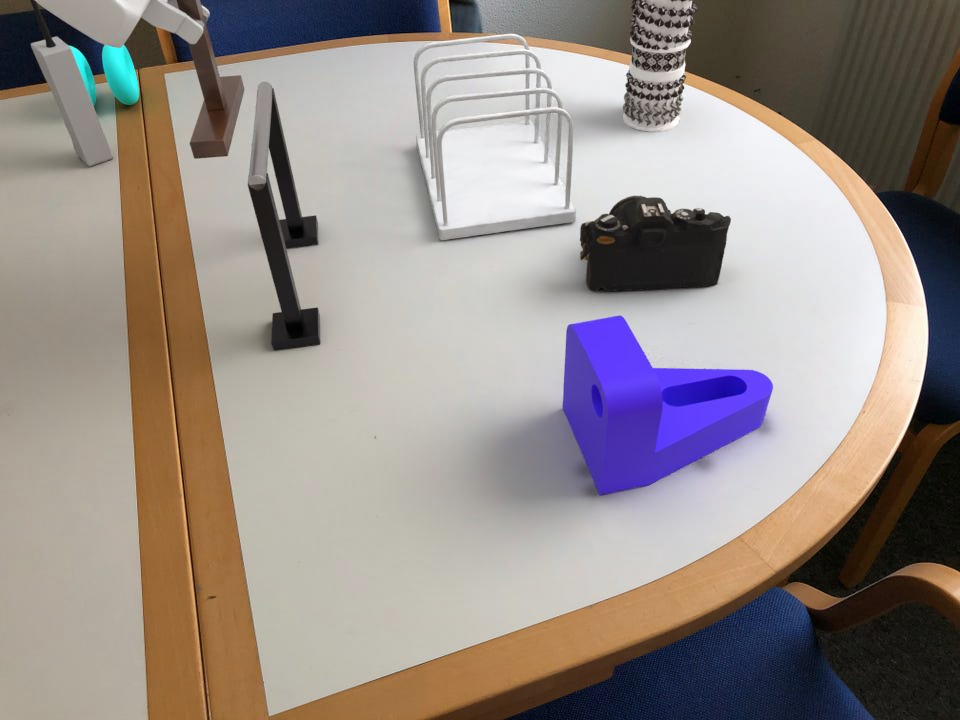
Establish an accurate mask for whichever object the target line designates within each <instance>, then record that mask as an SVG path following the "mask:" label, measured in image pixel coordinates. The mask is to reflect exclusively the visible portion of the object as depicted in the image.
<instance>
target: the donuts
mask: <svg viewBox="0 0 960 720" xmlns="http://www.w3.org/2000/svg"><path fill="white" fill-rule="evenodd" d="M68 46H69V47H70V48H71V50H72V52H73V55H74V57H75V60H76V62H77V65H78V68H79V70H80V73H81V75H82V78H83V80H84V83H85V86H86V88H87V91H88V93H89V96H90V98H91V101H92V104H93V106H94V107H95V105H96V103H97V97H98V96H97V93H98V92H97V87H96V82H95V78H94V74H93V72H92V69H91V66H90V64H89V62H88V60H87V58H86V56H85V55H84V54H83V53H82V51H80V50H79V49H78V48H76V47H75V46H72V45H68ZM101 59H102V67H103V72H104V75H105V79H106V82H107V84H108V86H109V89H110V91H111V93H112V94H113V96H114V98H116V99H117V101H118V102H120V103H122V104H124V105H127V106H133V105H135V104H136V103H137V102H138V101H139V99H140V87H139V81H138V77H137V72H136V69H135V65H134V63H133V59H132V57H131V55H130V52H129V50H128V48H127V47H126V45H125V44H124V45H123V46H122V47H121V48H116V47H112V46H108V45H105V44H103V47H102V52H101Z"/></svg>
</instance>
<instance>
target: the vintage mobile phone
mask: <svg viewBox="0 0 960 720" xmlns="http://www.w3.org/2000/svg"><path fill="white" fill-rule="evenodd" d="M29 1H30V3H31V6H32V8H33V11H34V13H35V16H36V19H37V23H38V26H39V28H40V31H41V33H42V36H43V38H44V39H42V40H39V41H34V42H31V43H30V47H31V50H32V52H33V54H34V56H35V59H36V61H37V63H38V65H39V69H40V70H41V72H42V75H43V77H44V79H45V82H46V84H47V85H48V88H49V89H50V91H51V94H52V96H53V99H54V101H55V104H56V105H57V108H58V111H59V113H60V116H61V118H62V120H63V122H64V124H65V128H66V130H67V132H68V134H69V137H70V139H71V143H72V146H73V150H74V151H75V154H76V155H77V156H78V157H79V158H80V159H81V161H83V162H84V164H86V165H87V167H89V168H91V167H94V166H97V165H100V164H103V163H105V162H108V161H111V160H113V159H114V156H113V153H112V150H111V148H110V144H109V143H108V140H107V137H106V135H105V132H104V129H103V128H102V124H101V123H100V119H99V117H98V115H97V111H96V109H95V105H94V106H93V104H92V101H91V98H90V96H89V93H88V91H87V88H86V86H85V83H84V80H83V78H82V75H81V73H80V70H79V68H78V65H77V62H76V60H75V57H74V55H73V52H72V50H71V48H70V47H69V46H70V45H69V44H67V43H66V42H65V41H63V40H62V39H61V38H59V36H53V37H52V35H51V32H50V30H49V28H48V25H47V23H46V20H45V19H44V17H43V15H42V12H41V11H40V8H39V6H38V3H37V2H36V1H35V0H29Z"/></svg>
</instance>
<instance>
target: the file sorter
mask: <svg viewBox="0 0 960 720" xmlns="http://www.w3.org/2000/svg"><path fill="white" fill-rule="evenodd" d="M505 40H515V41H518V42H520V43H521V44H522V45H523V47H524V48H519V49H508V50H507V49H506V50H505V49H504V50H496V51H485V52H475V53H474V52H473V53H466V54H465V53H464V54H455V55H454V54H453V55H445V56H437V57H435V58H432V59H430V60H429V61H427V62H426V64H425V65H424V67H423V68H422V70H421V73H420V76H419V66H418V65H419V59H420V57H421V55H422V54H423V53H424V52H425V51H427V50H430V49H435V48H441V47H442V48H443V47H453V46H459V45H461V46H462V45H470V44H477V43H487V42H496V41H505ZM521 55H523V56H524V55H525V57H524V59H525V67H524V68H513V69H501V70H500V69H499V70H490V71H488V70H487V71H476V72H467V73H466V72H465V73H457V74H455V73H454V74H445V75H442V76H439V77H437V78H435V80H433V81H432V82H431V83H430V85H429V86H428V88H426V76H427V74H428V71H429V70H430V69H431V68H432V67H433V66H435V65H437V64H440V63H448V62H450V63H451V62H459V61H467V60H468V61H469V60H476V59H478V60H479V59H488V58H497V57H509V56H510V57H511V56H521ZM530 58H532V59H533V61H534V62H535V66H536V67H531V66H530V65H531V64H530ZM541 65H542V64H541V60H540V59H539V57H538V56H537V54H535V52H533V51H532V50H530V47H529V44H528V42H527V41H526V39H525V38H524V37H522V36H521V35H519V34H516V33H505V34H504V33H503V34H496V35H486V36H476V37H469V38H468V37H467V38H458V39H450V40H443V41H441V40H440V41H433V42H428V43H425V44H423V45H421V47H419V48H418V49H417V51H416V52H415V54H414V57H413V73H414V83H415V85H414V86H415V94H416V103H417V114H418V121H419V134H416V135H415V142H416V143H415V144H416V148H417V152H418V156H419V159H420V160H419V161H420V164H421V167H422V171H423V176H424V179H425V185H426V188H427V192H428V195H429V196H428V197H429V200H430V204H431V209H432V213H433V218H434V221H435V225H436V229H437V233H438V234H437V235H438V238H439V240H440V241H446V240H454V239H455V240H456V239H461V238H462V239H463V238H467V237H476V236H480V235H489V234H490V235H491V234H496V233H503V232H509V231H510V232H512V231H517V230H524V229H531V228H540V227H545V226H547V227H548V226H554V225H561V224H569V223H574V222H576V221H577V219H576V217H577V216H576V215H577V214H576V213H577V210H576V208H575V206H574V204H573V202H572V200H571V189H572V171H573V170H572V169H573V152H574V121H573V118H572V116H571V115H570V114H569V112H567V111H566V110H565V109H564V107H563V101H562V99H561V96H560V94H559V93H557V91H555V90H554V89H553V84H552V81H551V80H552V79H551V78H550V76H549V75H548V74H547V72H546V71H544V70H543V69H542V66H541ZM530 74H533V75H534V74H535V75H536V82H535V83H536V84H535V87H531V88H530V78H531V77H530V76H531V75H530ZM517 75H518V76H519V75H525V88H520V89H519V88H518V89H507V90H500V91H499V90H497V91H488V92H487V91H486V92H477V93H466V94H456V95H449V96H446V97H444V98H442V99H441V100H440V101H439V102H437V104H436V105H434V107H433V110H432V95H433V92H434V90H435V88H436V87H438V85H440V84H443V83H445V82H452V81H462V80H463V81H464V80H472V79H482V78H483V79H484V78H494V77H495V78H496V77H509V76H517ZM542 78H544V80H545V82H546V87H541V85H542V84H541V83H542ZM426 89H427V91H426ZM541 94H546V107H541ZM530 95H535V106H534V107H535V108H532V109H530ZM517 96H525V109H523V110H514V111H506V112H497V113H489V114H480V115H479V114H478V115H472V116H471V115H470V116H463V117H458V118H454V119H451V120H449V121H447V122H446V123H445V124H443V126H442V127H441V128H440V129H439V131H438V130H437V115H438V113H439V111H440V110H441V108H443V107H444V106H445V105H447V104H449V103H453V102H465V101H474V100H485V99H496V98H506V97H507V98H508V97H517ZM553 98H554V99H555V100H556V103H557V106H552V102H553V101H552V99H553ZM552 114H557V119H556V120H557V121H556V141H555V142H556V143H555V158H554V162H553V160H552V157H551V156H550V154H549V152H550V134H551V120H552V119H551V116H552ZM540 115H545V130H544V131H545V132H544V133H545V134H544V142H543V140H542V138H541V135H540ZM530 116H534V120H533V121H532V120H530ZM520 117H525V118H524V119H525V120H522V121H515V122H507V123H497V124H490V125H481V126H473V127H466V128H465V127H464V128H458V129H452V128H453V127H455V126H458V125H463V124H472V123H480V122H486V121H487V122H488V121H494V120H495V121H496V120H504V119H505V120H506V119H511V118H512V119H513V118H520ZM563 117H564V118H565V119H566V121H567V125H568V129H567V131H568V133H567V157H566V158H567V159H566V173H565V174H566V175H565V176H566V177H565V178H566V179H565V182H566V183H565V185H564V183H563V181H562V179H561V177H560V164H561V163H560V162H561V148H562V147H561V145H562V132H563V131H562V130H563Z"/></svg>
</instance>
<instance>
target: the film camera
mask: <svg viewBox="0 0 960 720" xmlns="http://www.w3.org/2000/svg"><path fill="white" fill-rule="evenodd" d="M731 222H732V219H731V216H729V215H725V216H724V215H722V213H720V212H717V211H716V212H714V211H709V212H708V213H707V214H706V210H705V209H704V208H701V207H699V208H698V207H696V208H693V210H691V209H689V208H679V209H676V210H674V212H673V213H672V212H671V209H669V208H668V206H667V203H666V201H664V198H661V197H656V196H655V197H654V196H653V197H646V196H644V195H630V196H628V197H624V198H623V199H621V200H619V201H617V202H616V203H615V204H614V205H613V206H612V208H611V209H610V211H609V213H603V214H601V215H600V216H598V218H596V219H595V220H589V221H586V222H583V223H581V225H580V228H579V237H580V238H579V242H580V247H581V251H580V253H579V254H580V255H579V258H580V261H583V260H584V261H586V273H585V281H586V285H587V286H586V287H587V288H588V289H589V290H591V291H595V292H597V291H600V289H604V290H605V291H607V292H616V291H617V292H623V291H640V290H641V291H642V290H643V291H645V290H662V289H665V290H666V289H677V288H686V289H688V288H699V287H700V288H701V287H702V288H703V287H709V286H715V285H718V283H719V280H720V276H721V272H722V271H721V270H722V265H723V261H724V255H725V250H726V246H727V240H728V232H729V229H730V226H731Z"/></svg>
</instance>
